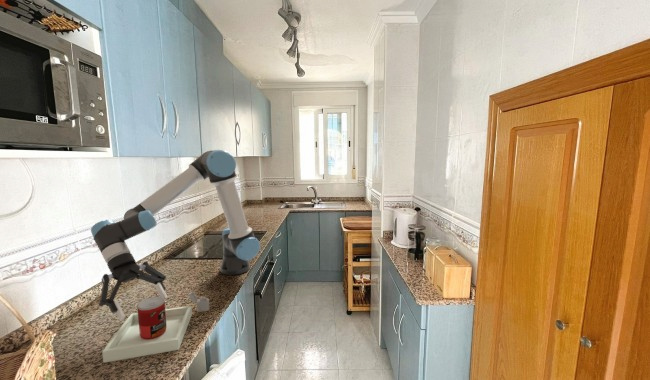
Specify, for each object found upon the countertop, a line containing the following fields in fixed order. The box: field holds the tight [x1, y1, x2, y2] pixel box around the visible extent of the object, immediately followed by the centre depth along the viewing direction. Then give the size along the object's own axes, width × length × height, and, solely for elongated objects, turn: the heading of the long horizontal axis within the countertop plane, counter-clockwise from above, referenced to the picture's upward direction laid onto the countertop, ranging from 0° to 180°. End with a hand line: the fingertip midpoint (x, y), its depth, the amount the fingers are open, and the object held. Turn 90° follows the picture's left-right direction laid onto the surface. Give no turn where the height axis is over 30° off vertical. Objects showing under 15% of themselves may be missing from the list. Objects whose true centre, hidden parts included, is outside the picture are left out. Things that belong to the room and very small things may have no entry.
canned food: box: [136, 296, 167, 340], centre depth 90 cm, size 8×8×11 cm
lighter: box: [188, 291, 210, 313], centre depth 105 cm, size 7×2×8 cm, turn 106°
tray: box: [101, 305, 193, 363], centre depth 91 cm, size 20×20×4 cm
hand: (145, 308), depth 91 cm, fingers open, 13 cm apart
